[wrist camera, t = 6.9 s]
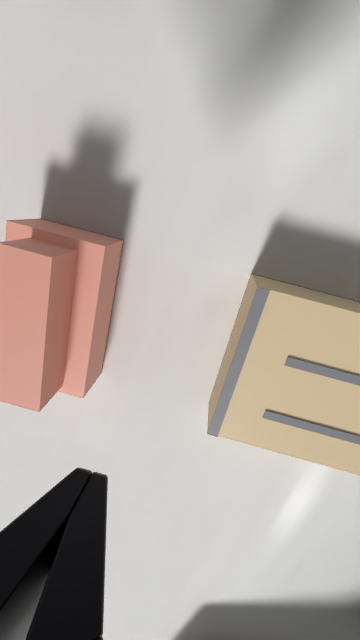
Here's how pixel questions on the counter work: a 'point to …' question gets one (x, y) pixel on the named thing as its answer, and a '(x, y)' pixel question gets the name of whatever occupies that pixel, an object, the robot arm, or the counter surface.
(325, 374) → the beige slotted tile
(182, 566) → the counter surface
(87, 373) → the pink stepped block
